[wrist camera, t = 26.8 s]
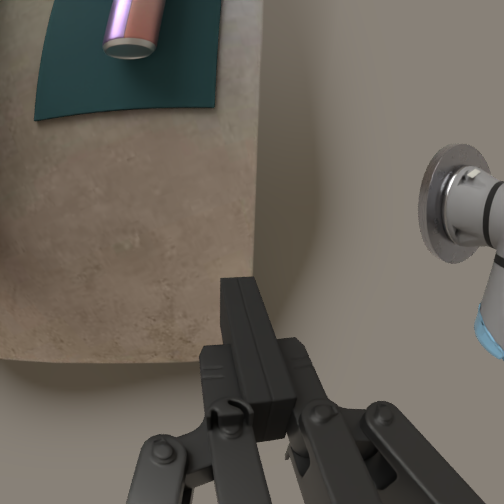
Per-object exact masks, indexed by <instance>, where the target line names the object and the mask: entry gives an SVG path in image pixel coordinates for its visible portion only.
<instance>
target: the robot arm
mask: <svg viewBox="0 0 504 504" xmlns="http://www.w3.org/2000/svg"><path fill="white" fill-rule="evenodd" d="M441 220H442V226H443V229H444V232H445V234H446V236H447V238H448V239H449V240H450V241H451V242H453V243H454V244H457V245H459V246H464V247H479V246H489V247H492V248H494V249H496V250H497V251H496V255H495V259H494V263H493V266H492V270H491V273H490V276H489V280H488V283H487V286H486V289H485V292H484V295H483V299H482V301H481V303H480V305H479V308H478V314H477V317H476V321H475V325H474V329H475V334H476V337H477V339H478V341H479V342H480V343H481V345H482V346H483V347H484V348H485V349H486V350H487V351H488V352H489V353H490V354H492V355H493V356H495V357H496V358H498V359H501V358H502V359H503V360H504V182H503V181H499V180H498V179H496V178H495V177H493V176H491V175H490V174H488V173H487V172H485V171H483V170H482V169H480V168H478V167H475V166H471V165H462V166H460V167H458V168H456V169H455V170H454V171H453V173H452V174H451V175H450V177H449V179H448V181H447V183H446V185H445V188H444V192H443V196H442V202H441ZM220 327H221V333H222V339H223V344H224V345H209V346H203V349H202V351H201V353H200V355H199V361H200V373H201V384H202V392H203V403H204V411H205V417H204V420H203V422H202V423H201V425H200V426H199V427H198V428H197V429H196V430H194V431H192V432H190V433H188V434H185V435H182V436H179V437H173V436H171V435H166V434H165V435H164V434H163V435H161V434H159V435H156V436H152V437H150V438H149V439H148V440H147V441H145V442H144V444H143V446H142V448H141V451H140V454H139V458H138V461H137V465H136V469H135V472H134V476H133V479H132V483H131V487H130V490H129V494H128V499H127V501H126V504H192V499H193V493H194V488H195V487H197V486H200V485H203V484H205V483H208V482H211V481H213V480H214V484H215V490H216V496H217V502H218V504H272V502H271V498H270V494H269V491H268V487H267V483H266V480H265V475H264V472H263V468H262V464H261V460H260V456H259V452H258V448H257V444H256V443H257V442H263V441H270V440H276V439H282V438H285V435H286V432H287V435H288V438H289V441H290V443H289V446H288V449H287V451H286V454H285V460H288V459H289V457H290V458H291V461H292V464H293V468H294V471H295V474H296V478H297V481H298V484H299V487H300V490H301V493H302V496H303V500H304V503H305V504H485V503H484V502H483V500H482V499H481V498H480V497H479V496H478V495H477V494H476V493H475V492H474V491H473V490H472V489H471V487H470V486H469V485H468V484H467V483H466V482H465V481H464V480H463V479H462V478H461V477H460V475H459V474H458V473H457V472H456V471H455V470H454V469H453V468H452V467H451V466H450V465H449V463H448V462H447V461H446V460H445V459H444V458H443V457H442V456H441V455H440V454H439V453H438V452H437V451H436V449H435V448H434V447H433V446H432V445H431V444H430V443H429V442H428V441H427V440H426V438H424V436H423V435H422V434H421V433H420V432H419V431H418V430H417V429H416V428H415V427H414V425H413V424H412V423H411V422H410V421H409V420H408V419H407V418H406V417H405V416H404V415H403V414H402V412H401V411H399V409H398V408H397V407H396V406H394V405H393V404H391V403H389V402H386V401H377V402H374V403H372V404H371V405H370V406H369V407H367V409H366V410H365V409H346V408H342V407H339V406H338V405H337V404H335V403H334V402H332V401H331V400H329V399H328V398H327V396H326V393H325V391H324V389H323V387H322V385H321V382H320V380H319V378H318V375H317V373H316V371H315V369H314V367H313V366H312V362H311V360H310V358H309V355H308V353H307V351H306V349H305V346H304V345H303V344H302V343H301V342H299V340H297V338H295V337H293V338H284V339H276V336H275V333H274V331H273V328H272V325H271V323H270V320H269V317H268V314H267V312H266V309H265V306H264V303H263V300H262V297H261V295H260V292H259V289H258V287H257V284H256V281H255V278H254V277H235V278H220Z"/></svg>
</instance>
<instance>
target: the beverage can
mask: <svg viewBox="0 0 504 504" xmlns="http://www.w3.org/2000/svg"><path fill="white" fill-rule="evenodd" d="M165 2H166V0H113V3H112V7H111V10H110V14H109V18H108V22H107V26H106V31H105V35H104V40H103V44H102V47H103V50H104V52H105V54H106V55H108V56H110V57H113V58H118V59H140V58H144V57H147V56H149V55H151V54H152V53H153V52H154V51H155V49H156V48H157V43H158V37H159V32H160V26H161V21H162V16H163V11H164V7H165Z"/></svg>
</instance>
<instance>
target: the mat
mask: <svg viewBox="0 0 504 504" xmlns="http://www.w3.org/2000/svg"><path fill="white" fill-rule="evenodd" d="M112 3H113V0H55V1H54V4H53V8H52V11H51V15H50V19H49V23H48V27H47V32H46V36H45V41H44V46H43V51H42V57H41V63H40V69H39V76H38V84H37V92H36V102H35V114H34V121H41V120H46V119H52V118H58V117H65V116H72V115H79V114H87V113H96V112H106V111H117V110H131V109H149V108H214V107H215V87H216V69H217V52H218V37H219V23H220V11H221V0H166V2H165V7H164V11H163V16H162V21H161V26H160V32H159V37H158V43H157V48H156V49H155V51H154V52H153V53H152V54H151V55H149V56H147V57H144V58H140V59H118V58H113V57H110V56H108V55H106V54H105V52H104V50H103V47H102V44H103V40H104V35H105V31H106V26H107V22H108V18H109V14H110V10H111V7H112Z"/></svg>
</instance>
